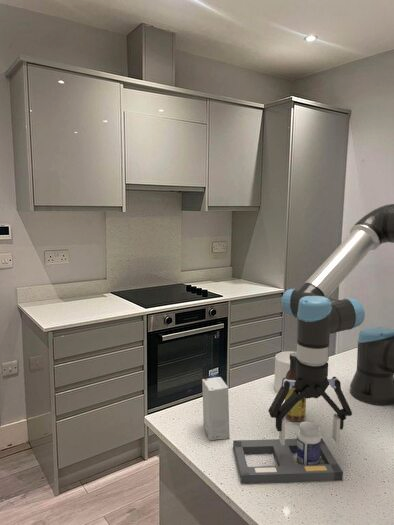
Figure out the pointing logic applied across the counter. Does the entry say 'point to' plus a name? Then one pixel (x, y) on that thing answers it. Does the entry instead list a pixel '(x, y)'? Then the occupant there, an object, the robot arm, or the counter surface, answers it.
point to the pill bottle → (308, 444)
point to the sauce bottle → (300, 407)
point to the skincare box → (215, 408)
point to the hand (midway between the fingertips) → (308, 441)
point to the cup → (281, 368)
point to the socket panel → (283, 463)
